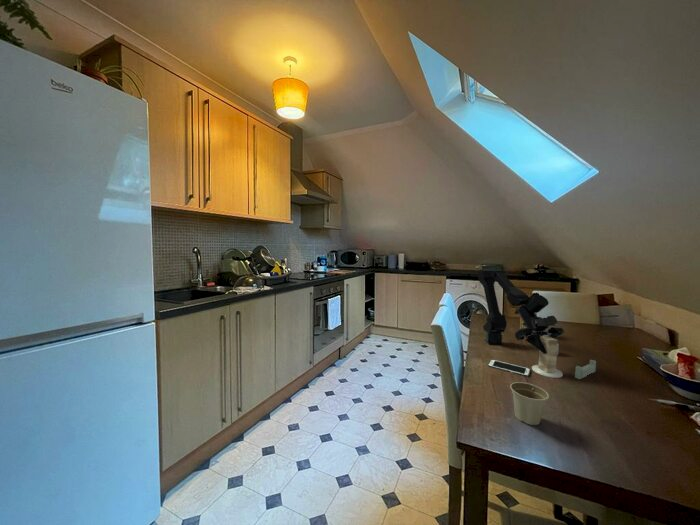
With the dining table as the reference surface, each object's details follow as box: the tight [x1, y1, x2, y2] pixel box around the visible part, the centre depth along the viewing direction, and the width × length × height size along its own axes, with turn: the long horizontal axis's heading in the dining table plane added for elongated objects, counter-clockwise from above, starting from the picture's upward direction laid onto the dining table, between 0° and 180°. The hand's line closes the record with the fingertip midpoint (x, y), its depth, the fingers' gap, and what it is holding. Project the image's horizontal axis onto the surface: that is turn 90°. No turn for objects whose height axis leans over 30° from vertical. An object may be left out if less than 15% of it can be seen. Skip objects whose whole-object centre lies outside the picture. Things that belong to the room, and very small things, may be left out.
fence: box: [574, 359, 597, 380], centre depth 105 cm, size 2×14×4 cm, turn 118°
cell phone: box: [487, 358, 531, 378], centre depth 110 cm, size 8×15×1 cm, turn 51°
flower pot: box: [509, 381, 550, 426], centre depth 78 cm, size 9×9×9 cm
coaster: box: [531, 364, 564, 379], centre depth 107 cm, size 10×10×1 cm
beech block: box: [538, 335, 559, 372], centre depth 107 cm, size 4×4×13 cm
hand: (550, 353), depth 105 cm, fingers open, 4 cm apart
